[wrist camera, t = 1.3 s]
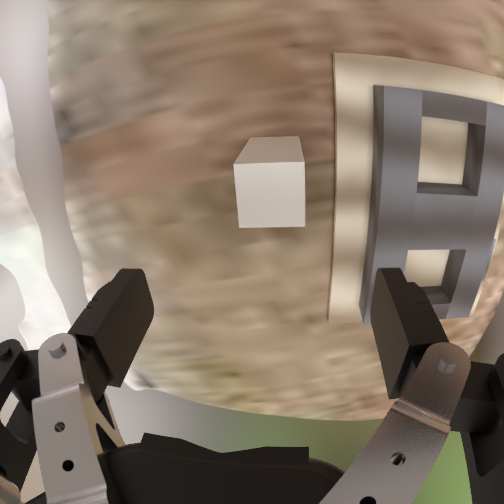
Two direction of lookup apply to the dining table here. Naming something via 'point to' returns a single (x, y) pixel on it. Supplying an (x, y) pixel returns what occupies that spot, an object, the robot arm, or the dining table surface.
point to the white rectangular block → (270, 183)
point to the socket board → (359, 162)
